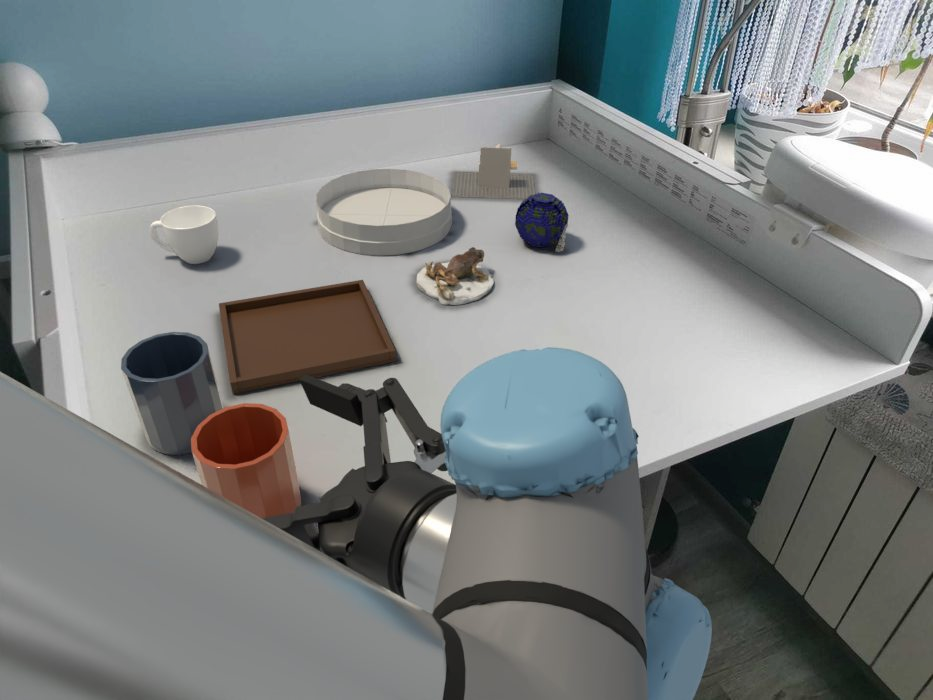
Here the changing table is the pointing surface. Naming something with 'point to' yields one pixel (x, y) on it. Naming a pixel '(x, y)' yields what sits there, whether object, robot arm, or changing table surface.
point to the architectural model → (494, 177)
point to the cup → (188, 233)
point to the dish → (384, 211)
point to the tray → (302, 335)
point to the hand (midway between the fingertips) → (242, 439)
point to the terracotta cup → (248, 459)
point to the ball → (542, 221)
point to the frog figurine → (456, 279)
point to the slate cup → (171, 388)
